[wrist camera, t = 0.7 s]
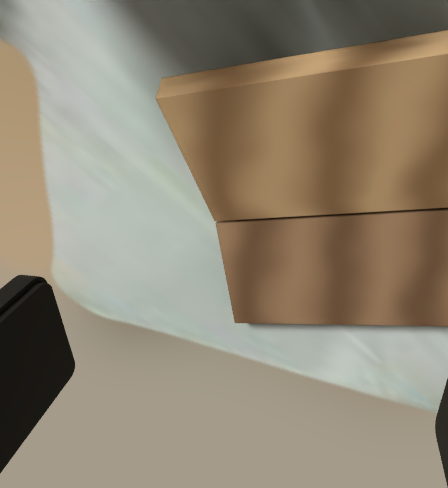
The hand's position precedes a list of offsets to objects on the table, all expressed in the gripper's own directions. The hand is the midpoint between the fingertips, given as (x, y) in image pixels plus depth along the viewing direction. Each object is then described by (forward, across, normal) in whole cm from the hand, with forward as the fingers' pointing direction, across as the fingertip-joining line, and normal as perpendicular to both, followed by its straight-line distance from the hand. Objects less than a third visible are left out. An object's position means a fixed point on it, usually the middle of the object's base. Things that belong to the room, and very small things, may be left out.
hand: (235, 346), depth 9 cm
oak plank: (+20, -3, 0) cm, 20 cm away
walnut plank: (+24, -4, +12) cm, 26 cm away
